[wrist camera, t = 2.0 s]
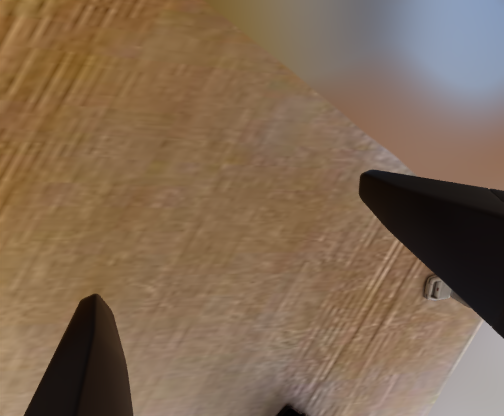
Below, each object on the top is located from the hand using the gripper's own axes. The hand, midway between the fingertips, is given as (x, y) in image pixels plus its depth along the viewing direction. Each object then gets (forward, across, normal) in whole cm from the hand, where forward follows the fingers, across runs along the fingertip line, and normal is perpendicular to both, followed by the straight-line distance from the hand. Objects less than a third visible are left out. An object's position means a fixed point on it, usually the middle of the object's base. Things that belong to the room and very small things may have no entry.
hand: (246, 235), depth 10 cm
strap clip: (+6, -26, +29) cm, 40 cm away
